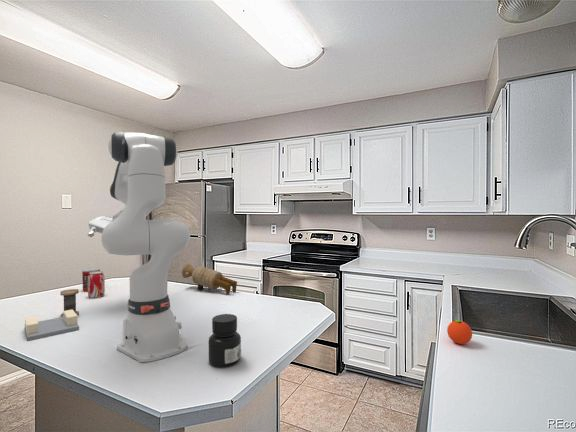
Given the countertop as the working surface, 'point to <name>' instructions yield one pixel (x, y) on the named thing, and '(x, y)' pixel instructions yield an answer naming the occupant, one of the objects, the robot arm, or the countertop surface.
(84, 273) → the red printed box
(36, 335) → the terminal board
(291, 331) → the countertop surface
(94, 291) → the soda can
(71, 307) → the bobbin
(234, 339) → the ink bottle
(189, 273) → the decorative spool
